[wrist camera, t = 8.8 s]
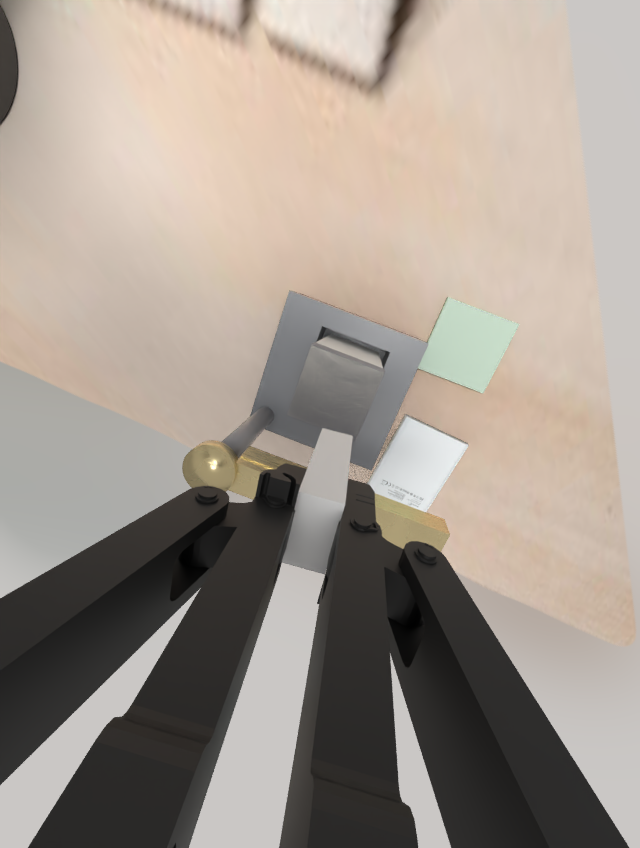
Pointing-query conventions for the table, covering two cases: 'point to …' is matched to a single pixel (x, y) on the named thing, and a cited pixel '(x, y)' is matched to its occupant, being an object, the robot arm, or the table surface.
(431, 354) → the pad
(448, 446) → the external hard drive
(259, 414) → the socket block
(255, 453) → the clip
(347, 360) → the plug
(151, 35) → the table surface
